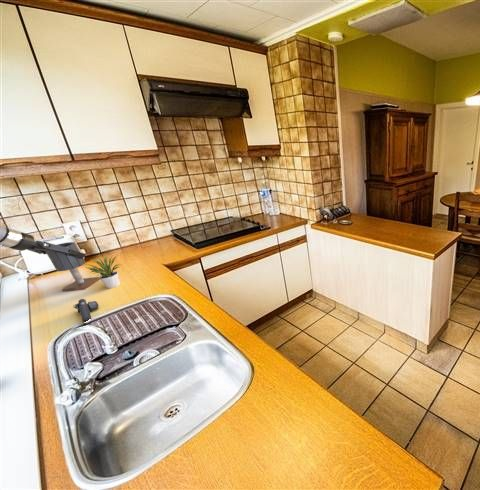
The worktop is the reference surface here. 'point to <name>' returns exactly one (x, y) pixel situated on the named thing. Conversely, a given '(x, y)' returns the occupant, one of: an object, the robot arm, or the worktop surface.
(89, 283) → the tape stand
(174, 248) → the worktop surface
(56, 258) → the grey ribbed cylinder
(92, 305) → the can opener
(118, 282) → the house plant
